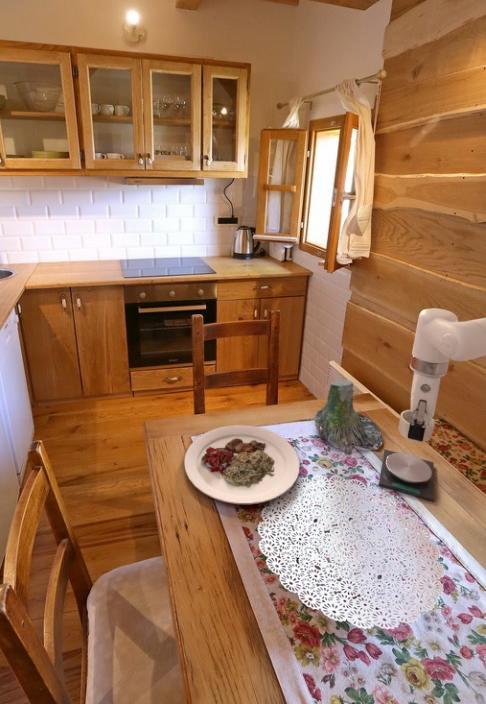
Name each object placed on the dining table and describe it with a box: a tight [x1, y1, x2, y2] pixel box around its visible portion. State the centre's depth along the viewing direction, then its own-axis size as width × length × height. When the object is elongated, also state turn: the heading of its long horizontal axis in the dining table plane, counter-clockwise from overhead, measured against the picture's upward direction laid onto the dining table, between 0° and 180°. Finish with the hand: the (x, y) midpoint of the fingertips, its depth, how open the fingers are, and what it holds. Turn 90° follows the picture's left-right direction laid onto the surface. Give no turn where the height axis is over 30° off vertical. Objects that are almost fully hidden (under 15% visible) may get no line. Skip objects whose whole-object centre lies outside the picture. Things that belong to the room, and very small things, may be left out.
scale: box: [378, 448, 435, 503], centre depth 102 cm, size 12×14×2 cm
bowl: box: [397, 409, 436, 443], centre depth 97 cm, size 7×7×4 cm
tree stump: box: [313, 379, 384, 454], centre depth 119 cm, size 18×20×18 cm
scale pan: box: [386, 452, 432, 484], centre depth 101 cm, size 10×10×2 cm
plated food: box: [183, 424, 300, 505], centre depth 107 cm, size 30×30×3 cm
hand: (415, 429), depth 97 cm, fingers closed on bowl, 7 cm apart
